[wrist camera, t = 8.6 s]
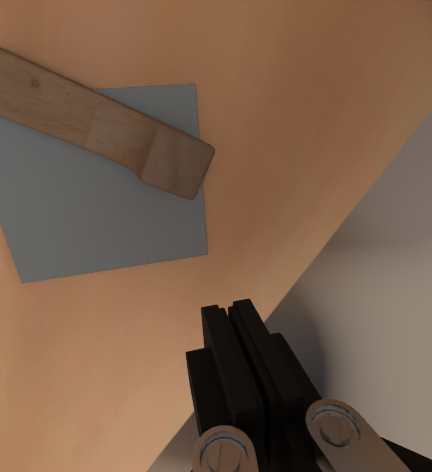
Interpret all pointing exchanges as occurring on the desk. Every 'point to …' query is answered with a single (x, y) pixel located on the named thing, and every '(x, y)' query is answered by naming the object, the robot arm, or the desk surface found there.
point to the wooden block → (102, 126)
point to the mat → (94, 198)
